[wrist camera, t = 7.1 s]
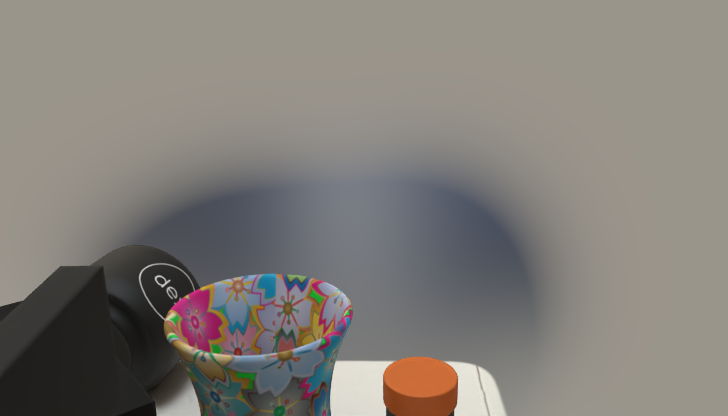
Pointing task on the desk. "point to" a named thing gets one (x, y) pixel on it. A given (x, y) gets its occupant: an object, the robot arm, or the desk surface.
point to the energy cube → (137, 404)
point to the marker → (420, 388)
